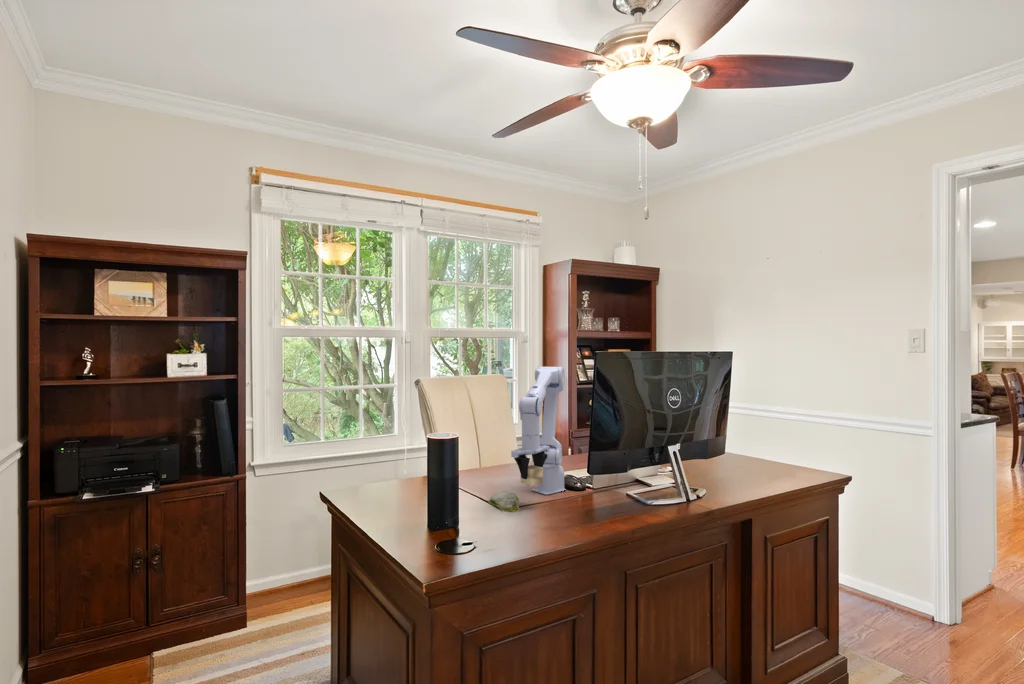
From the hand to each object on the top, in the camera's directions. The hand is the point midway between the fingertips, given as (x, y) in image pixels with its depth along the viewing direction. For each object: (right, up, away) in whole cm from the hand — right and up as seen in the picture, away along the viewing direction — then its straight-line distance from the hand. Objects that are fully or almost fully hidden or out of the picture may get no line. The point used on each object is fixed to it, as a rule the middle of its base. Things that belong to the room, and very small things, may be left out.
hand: (530, 477), depth 180 cm
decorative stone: (-8, -10, +6) cm, 15 cm away
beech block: (0, -2, 0) cm, 2 cm away
